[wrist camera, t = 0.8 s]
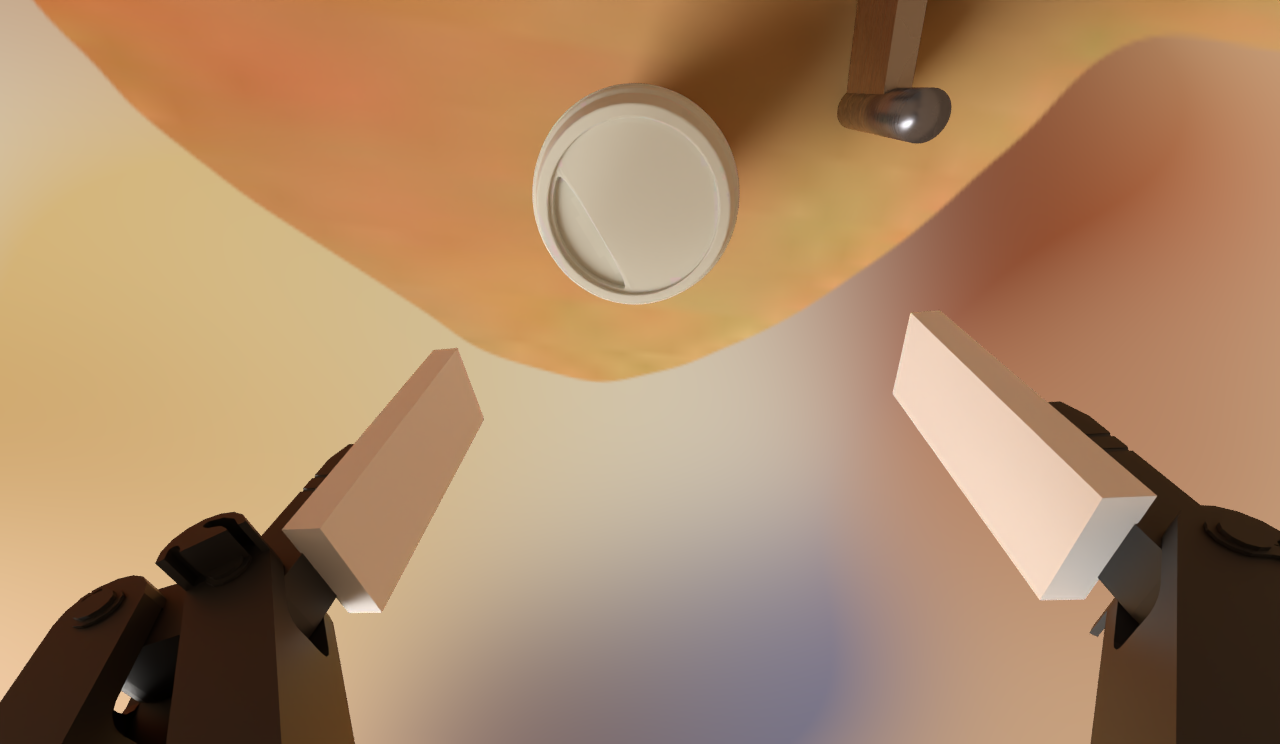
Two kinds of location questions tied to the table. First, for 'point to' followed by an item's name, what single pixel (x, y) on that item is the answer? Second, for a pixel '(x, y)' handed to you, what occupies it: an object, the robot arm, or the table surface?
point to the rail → (890, 75)
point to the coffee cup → (635, 193)
